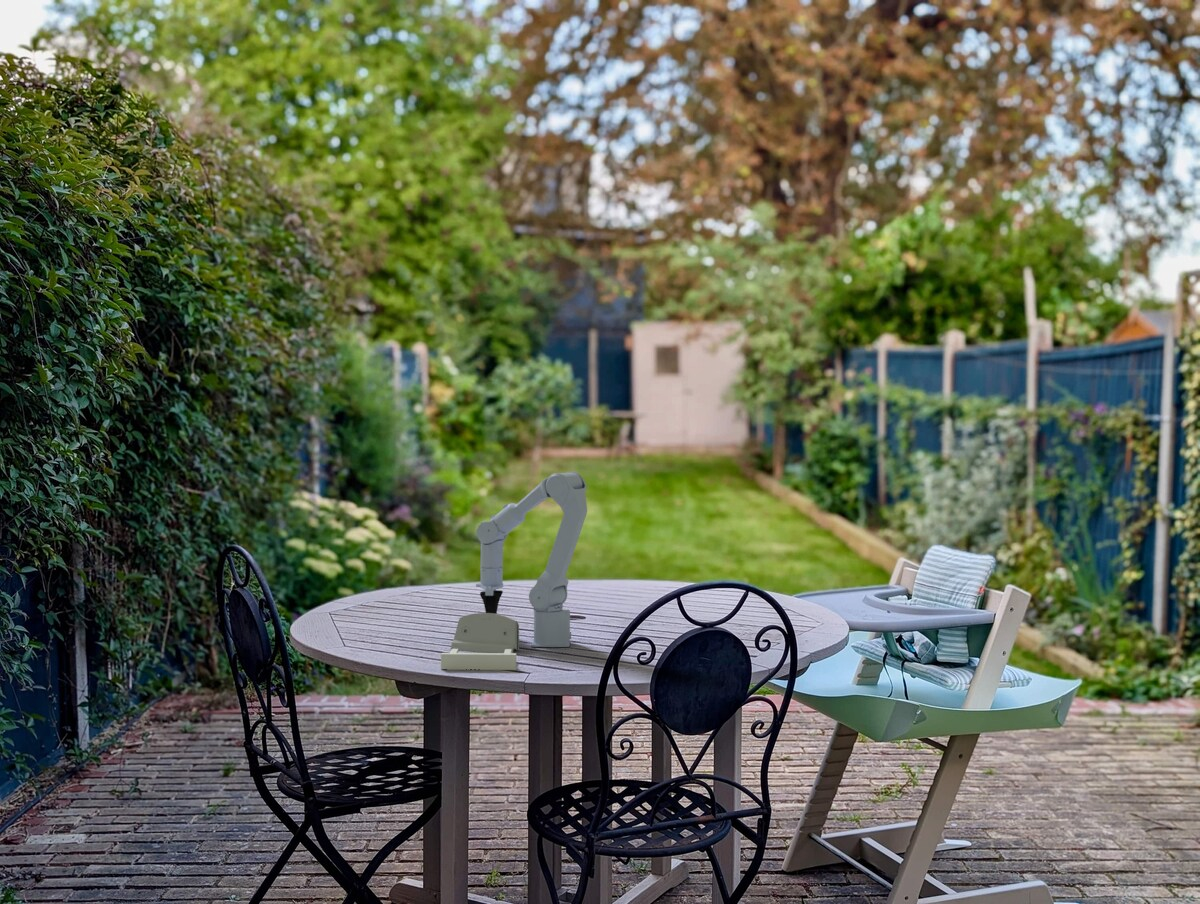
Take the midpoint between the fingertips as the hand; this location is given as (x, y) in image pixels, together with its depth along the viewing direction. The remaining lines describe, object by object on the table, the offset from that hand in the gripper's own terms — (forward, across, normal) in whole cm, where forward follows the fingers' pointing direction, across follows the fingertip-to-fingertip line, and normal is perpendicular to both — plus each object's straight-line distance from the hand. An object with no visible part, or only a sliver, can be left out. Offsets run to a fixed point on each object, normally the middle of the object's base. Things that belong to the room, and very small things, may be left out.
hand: (491, 619), depth 293 cm
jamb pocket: (+5, +32, 0) cm, 32 cm away
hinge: (+5, +14, 0) cm, 15 cm away
